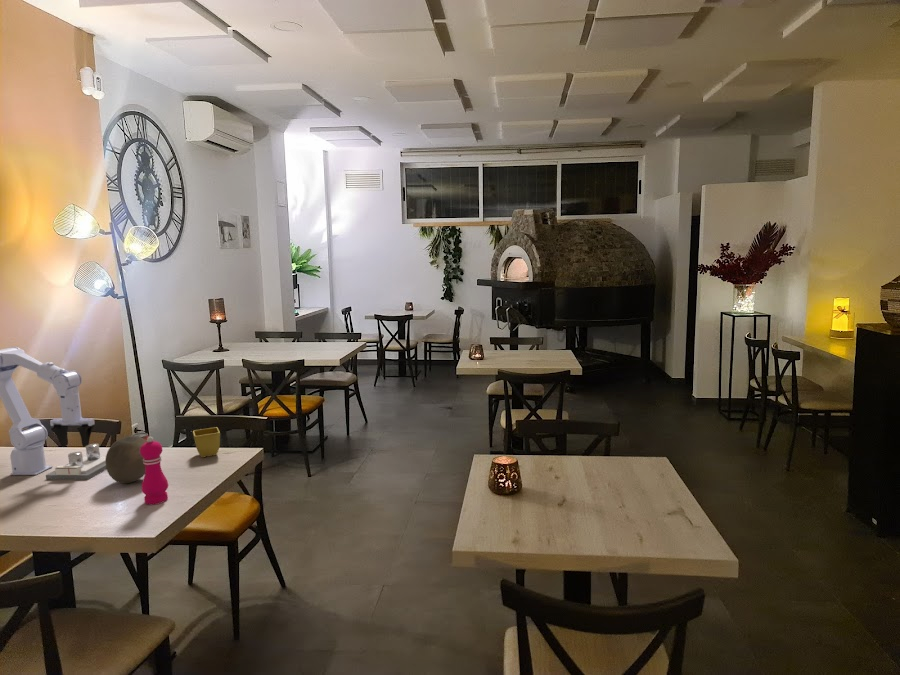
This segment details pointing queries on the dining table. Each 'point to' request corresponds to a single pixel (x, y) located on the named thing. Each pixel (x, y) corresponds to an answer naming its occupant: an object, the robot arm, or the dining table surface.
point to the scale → (79, 470)
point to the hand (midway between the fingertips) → (75, 445)
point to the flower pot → (207, 441)
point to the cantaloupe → (126, 459)
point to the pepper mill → (153, 473)
